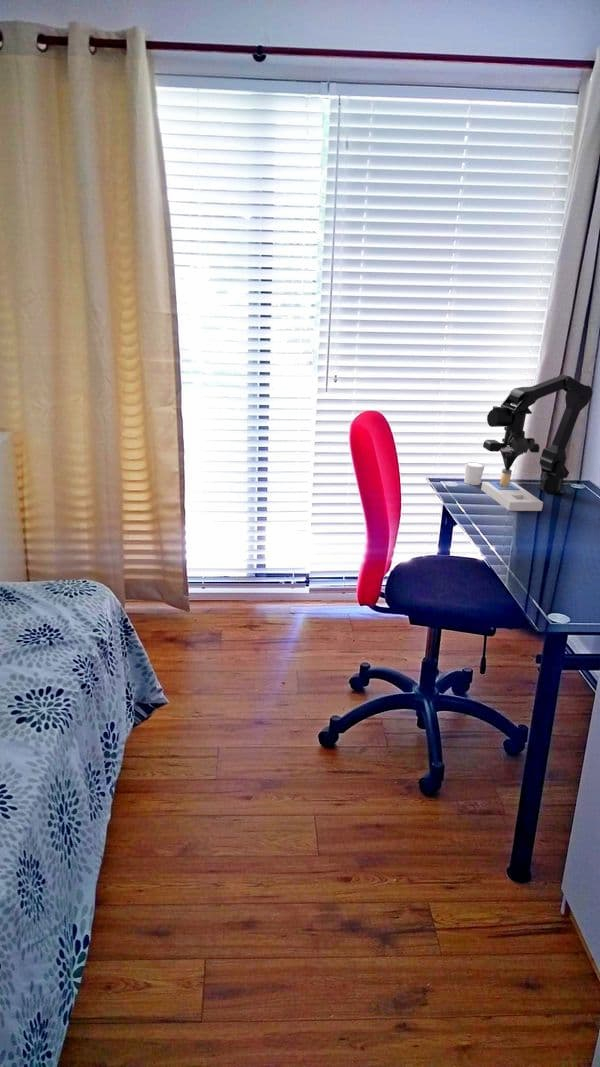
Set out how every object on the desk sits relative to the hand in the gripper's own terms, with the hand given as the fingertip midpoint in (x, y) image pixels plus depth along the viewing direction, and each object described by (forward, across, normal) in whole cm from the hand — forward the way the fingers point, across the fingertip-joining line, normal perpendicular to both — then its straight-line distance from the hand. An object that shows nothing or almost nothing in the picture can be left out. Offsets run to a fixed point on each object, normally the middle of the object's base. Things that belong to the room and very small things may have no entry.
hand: (507, 469), depth 272 cm
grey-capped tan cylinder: (+9, 0, 0) cm, 9 cm away
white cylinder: (+9, -6, +13) cm, 17 cm away
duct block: (+9, 0, -6) cm, 11 cm away
